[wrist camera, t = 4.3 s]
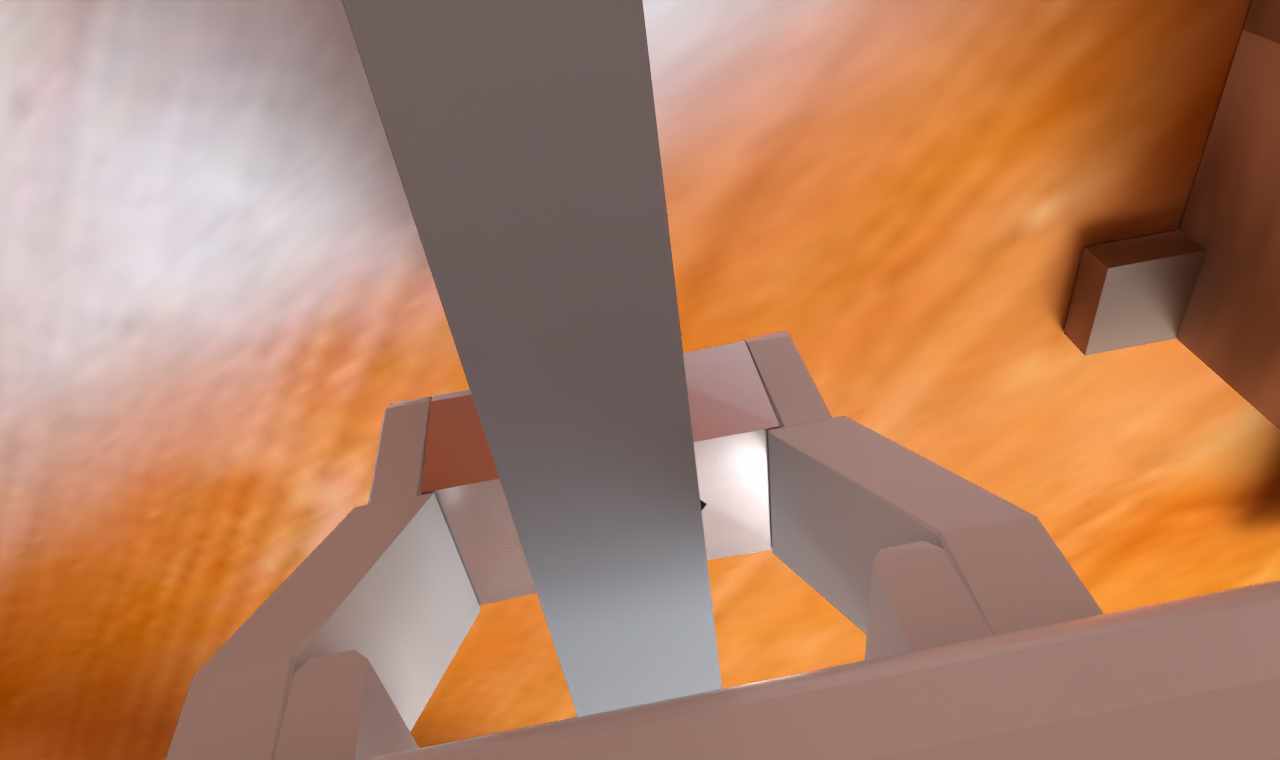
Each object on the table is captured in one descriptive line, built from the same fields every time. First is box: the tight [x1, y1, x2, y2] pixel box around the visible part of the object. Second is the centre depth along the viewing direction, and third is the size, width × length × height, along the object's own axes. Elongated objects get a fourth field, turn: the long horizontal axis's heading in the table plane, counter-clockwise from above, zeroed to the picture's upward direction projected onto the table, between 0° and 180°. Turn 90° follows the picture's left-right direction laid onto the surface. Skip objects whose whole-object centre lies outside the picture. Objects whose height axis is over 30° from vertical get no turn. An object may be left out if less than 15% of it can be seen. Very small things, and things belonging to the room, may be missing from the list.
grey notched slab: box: [342, 0, 722, 717], centre depth 13 cm, size 16×2×14 cm, turn 7°
